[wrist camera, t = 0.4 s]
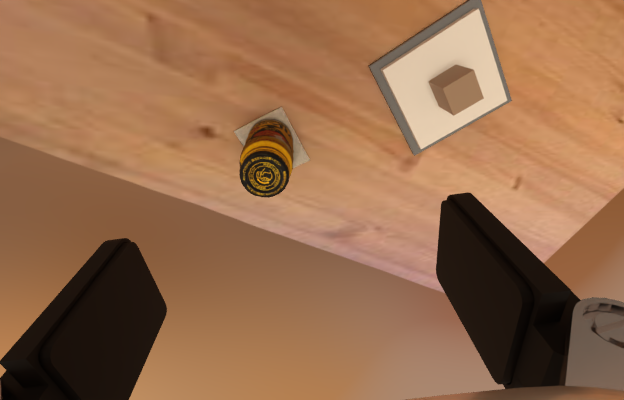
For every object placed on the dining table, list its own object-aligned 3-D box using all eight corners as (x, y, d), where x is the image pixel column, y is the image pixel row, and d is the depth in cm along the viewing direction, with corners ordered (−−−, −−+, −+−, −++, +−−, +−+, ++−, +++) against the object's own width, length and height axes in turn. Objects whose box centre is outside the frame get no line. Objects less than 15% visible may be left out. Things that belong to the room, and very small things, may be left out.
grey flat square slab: (368, 65, 40) (369, 66, 40) (476, -6, 37) (479, -6, 36) (413, 154, 46) (414, 155, 46) (509, 99, 43) (511, 100, 42)
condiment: (281, 106, 42) (277, 135, 32) (310, 159, 46) (314, 201, 36) (233, 130, 43) (214, 166, 33) (265, 180, 47) (257, 227, 37)
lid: (380, 69, 40) (392, 76, 35) (473, 8, 37) (501, 7, 32) (418, 146, 45) (433, 162, 40) (502, 98, 42) (529, 109, 37)
